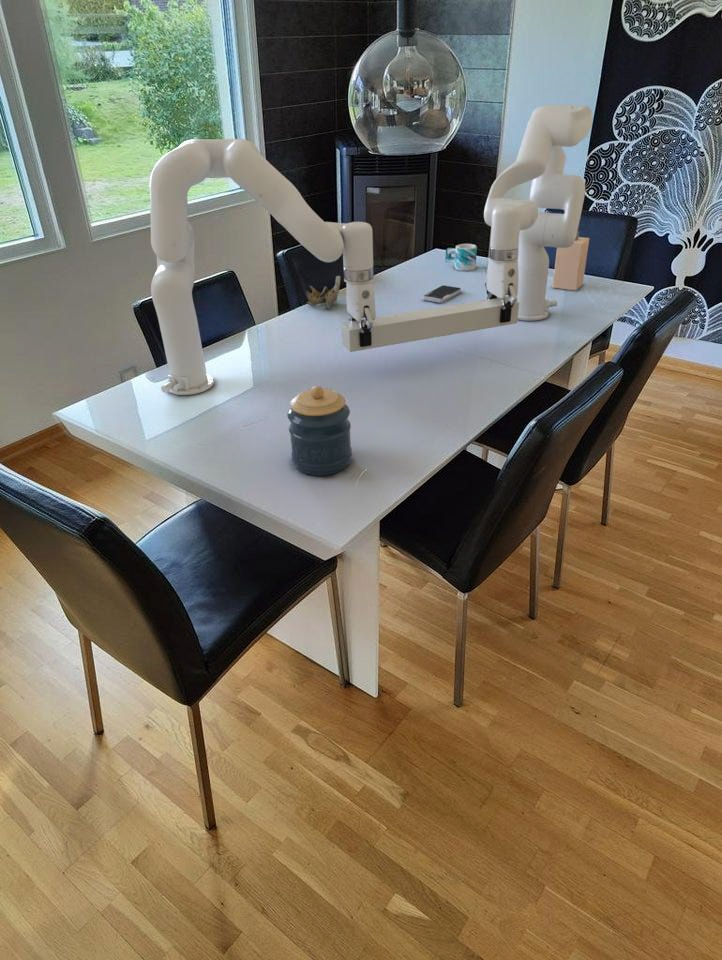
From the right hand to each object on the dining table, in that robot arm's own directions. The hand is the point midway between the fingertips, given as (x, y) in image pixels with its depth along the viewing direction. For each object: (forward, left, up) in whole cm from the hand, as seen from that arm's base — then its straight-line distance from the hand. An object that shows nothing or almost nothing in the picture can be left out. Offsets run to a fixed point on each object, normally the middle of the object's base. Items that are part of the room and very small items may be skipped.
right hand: (498, 317), depth 191 cm
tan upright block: (-51, -39, -9) cm, 64 cm away
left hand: (+42, 0, 0) cm, 42 cm away
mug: (-29, -79, -9) cm, 85 cm away
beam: (+21, 0, -1) cm, 21 cm away
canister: (+66, +41, -9) cm, 79 cm away
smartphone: (-7, -50, -9) cm, 51 cm away
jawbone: (+33, -60, -9) cm, 69 cm away
